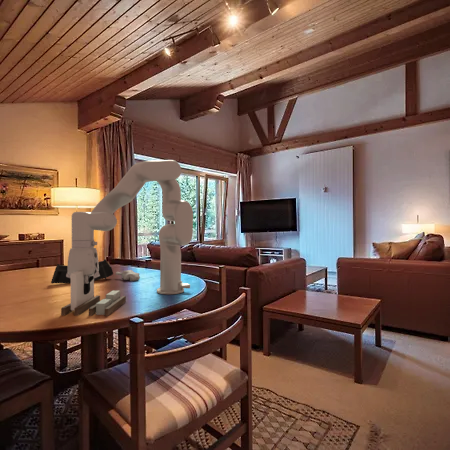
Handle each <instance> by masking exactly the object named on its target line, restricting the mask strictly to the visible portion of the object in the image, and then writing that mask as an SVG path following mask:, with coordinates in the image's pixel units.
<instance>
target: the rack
mask: <svg viewBox="0 0 450 450" xmlns="http://www.w3.org/2000/svg"><path fill="white" fill-rule="evenodd" d="M104 299H106V297H104ZM126 300H127V296H126V295H122V296H120V298H119V299H118V300H116V301H115V302H114V303H112V304H111V305H109V306H108V307H107V308H105V315H104V316H105V317H109V316H110V315H112V314H113V313H114V312H115V311H116V310H118V309H119V308H120V307H121V306H123V305H124V304H125V303H126V302H127V301H126ZM99 301H101V295H94V297H93V298H92V299H90V300H88V301H86V302H85V303H83V304H81V305H79V306H78V307H76V308H74V310H71V302H70V303H68V304H66V305H64V306H63V307H61V308H60V315H61V316H66V315H67V314H70V313H71V312H73V311H74V312H73V313H74V316H75V317H76V316H80V315H82V314H83V313H84V312H86V311H88V316H89V317H92V316H94V315H96V303H98V302H99Z"/></svg>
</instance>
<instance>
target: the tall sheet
mask: <svg viewBox="0 0 450 450" xmlns="http://www.w3.org/2000/svg"><path fill="white" fill-rule="evenodd" d="M93 275H94V274H93ZM93 275H92V276H93ZM84 284H85V275H83V271H77V272H74V273H71V283H70V303H71V310H73V311H74V308H76V307H78V306H79V305H81V304H83V303H85V302H86V301H88V300H90V299H92V298H93V297H95V281H94V279H93V280H92V281H91V282H90V291H89V293H88V294H84Z"/></svg>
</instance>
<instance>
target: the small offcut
mask: <svg viewBox="0 0 450 450" xmlns="http://www.w3.org/2000/svg"><path fill="white" fill-rule="evenodd" d="M109 305H111V299H105V298H103V299H100V301H99V302H98V303H96V313H95V315H97V316H99V315H101V316H102V315H103V316H105V308H107V307H108V306H109Z"/></svg>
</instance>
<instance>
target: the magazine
mask: <svg viewBox="0 0 450 450" xmlns="http://www.w3.org/2000/svg"><path fill="white" fill-rule="evenodd" d="M98 262H99V271H98V272H99V274H100V276H99V277H97V278H94V282H95V281H99V280H104V279H105V280H107V278H110V277H111V276H113V275H114V272H113V268H112V266H111V264H110V262H109V261H108V260H107V259H103V260H100V261H98ZM67 272H68V265H64V264H59V263H58V264H57V263H56V265H55V269H54V272H53V275H52V277H51V281H50V283H51V284H52V285H53V284H71V278H68V277H66V274H67Z"/></svg>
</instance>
